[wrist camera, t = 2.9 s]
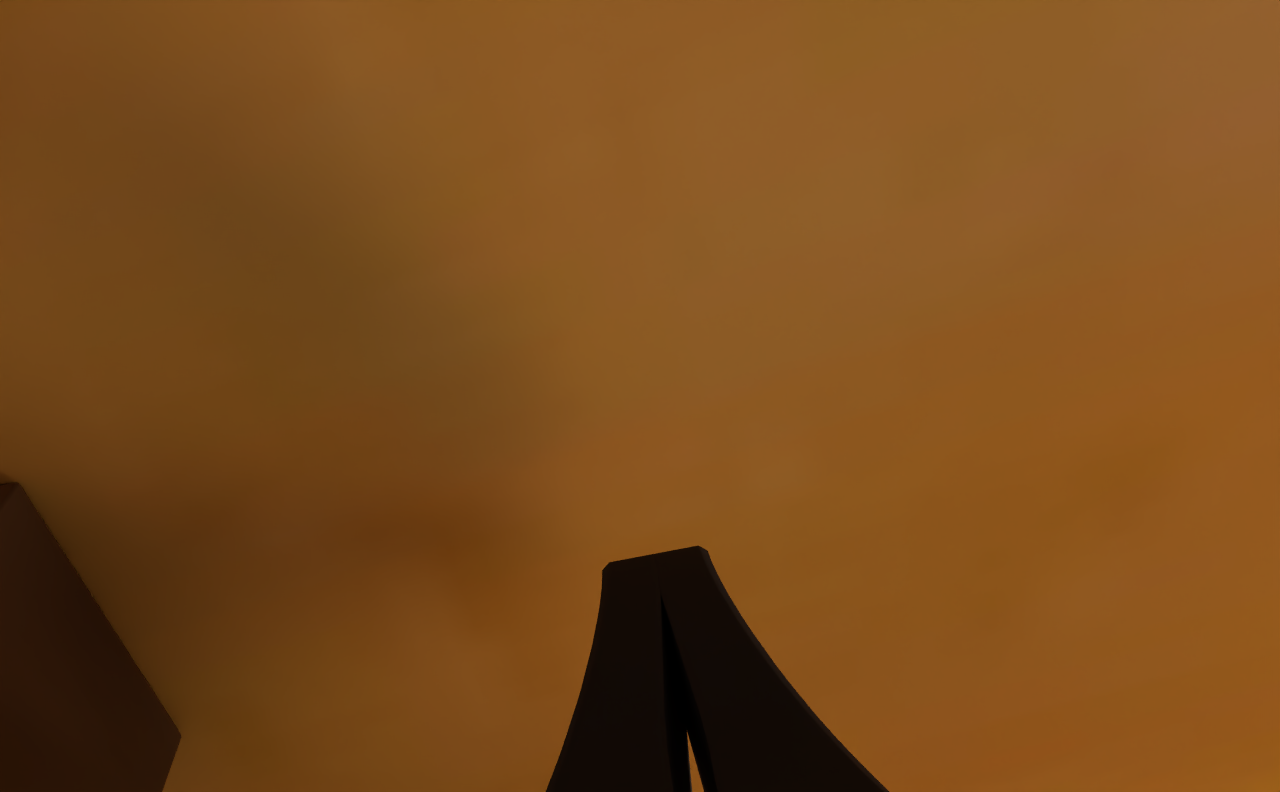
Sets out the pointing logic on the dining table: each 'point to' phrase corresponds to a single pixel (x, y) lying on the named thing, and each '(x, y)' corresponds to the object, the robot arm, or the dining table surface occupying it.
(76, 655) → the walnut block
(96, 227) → the dining table surface
